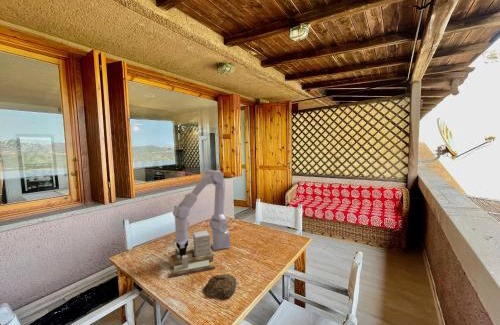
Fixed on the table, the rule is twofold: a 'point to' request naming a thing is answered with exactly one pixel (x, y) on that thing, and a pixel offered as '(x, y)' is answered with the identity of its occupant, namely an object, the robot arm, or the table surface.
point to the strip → (190, 265)
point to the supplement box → (201, 243)
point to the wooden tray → (191, 252)
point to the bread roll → (220, 286)
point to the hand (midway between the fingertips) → (182, 256)
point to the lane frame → (190, 270)
